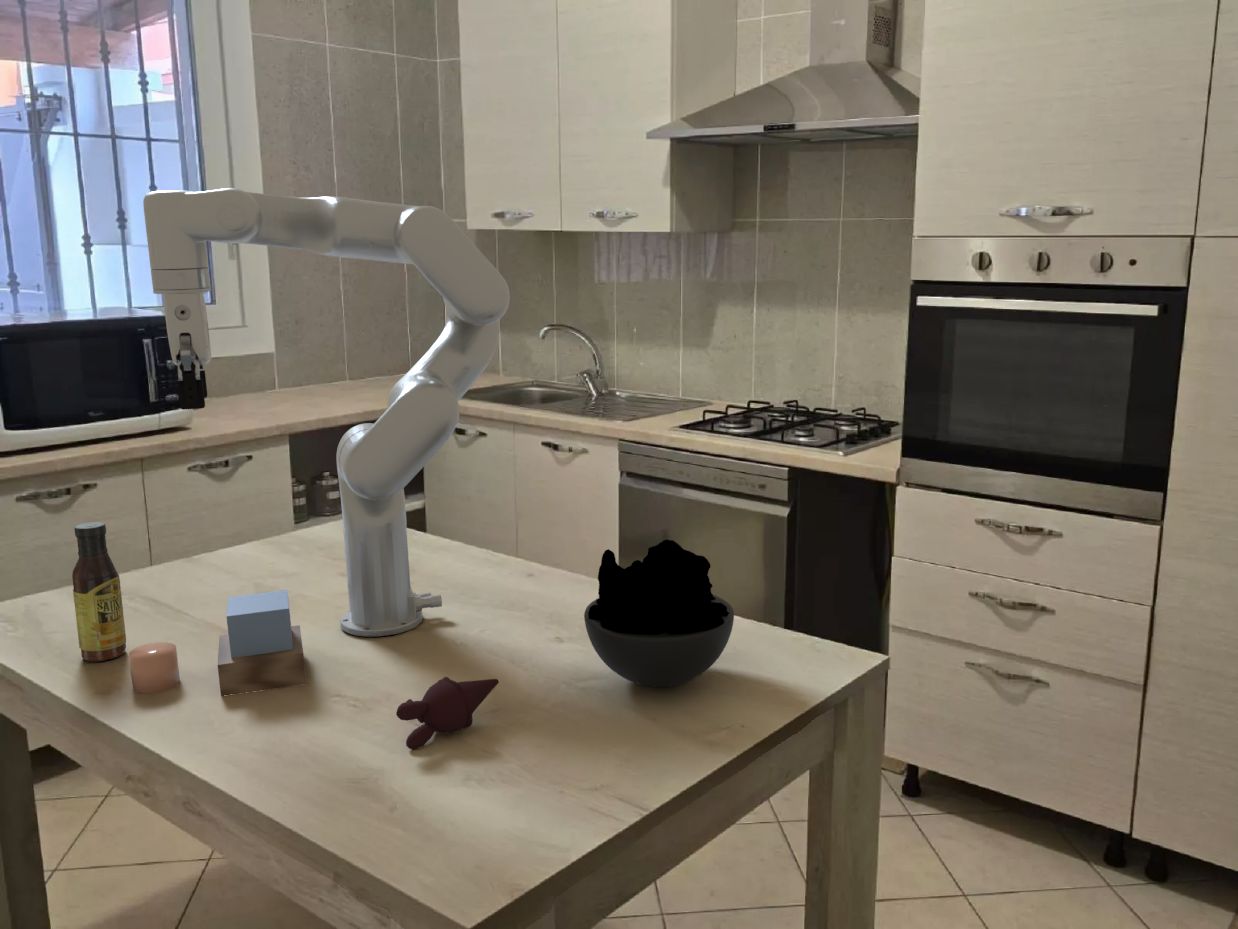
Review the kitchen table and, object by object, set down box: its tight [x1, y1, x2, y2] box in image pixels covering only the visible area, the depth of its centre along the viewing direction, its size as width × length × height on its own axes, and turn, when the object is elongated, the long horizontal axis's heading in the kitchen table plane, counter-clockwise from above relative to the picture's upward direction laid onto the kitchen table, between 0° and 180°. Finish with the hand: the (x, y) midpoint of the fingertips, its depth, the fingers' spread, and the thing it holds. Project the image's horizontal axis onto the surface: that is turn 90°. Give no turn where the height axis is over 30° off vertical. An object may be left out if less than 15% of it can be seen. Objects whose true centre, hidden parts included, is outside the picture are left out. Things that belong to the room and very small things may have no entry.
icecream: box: [395, 676, 500, 750], centre depth 133 cm, size 7×7×15 cm
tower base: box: [217, 624, 307, 697], centre depth 151 cm, size 11×11×5 cm
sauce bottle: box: [71, 521, 127, 663], centre depth 157 cm, size 7×6×20 cm
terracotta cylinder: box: [128, 641, 181, 695], centre depth 148 cm, size 6×6×5 cm
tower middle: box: [226, 589, 293, 658], centre depth 150 cm, size 8×8×6 cm
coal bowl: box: [583, 539, 735, 688], centre depth 145 cm, size 20×20×19 cm
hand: (194, 403), depth 154 cm, fingers open, 9 cm apart
